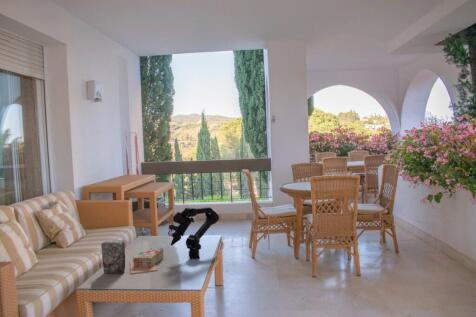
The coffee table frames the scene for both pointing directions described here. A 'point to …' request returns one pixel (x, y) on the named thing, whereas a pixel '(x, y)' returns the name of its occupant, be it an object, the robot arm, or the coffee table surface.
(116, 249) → the stone block
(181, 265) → the coffee table surface
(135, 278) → the coffee table surface
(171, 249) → the coffee table surface
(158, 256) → the stack of blocks
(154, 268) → the mat
